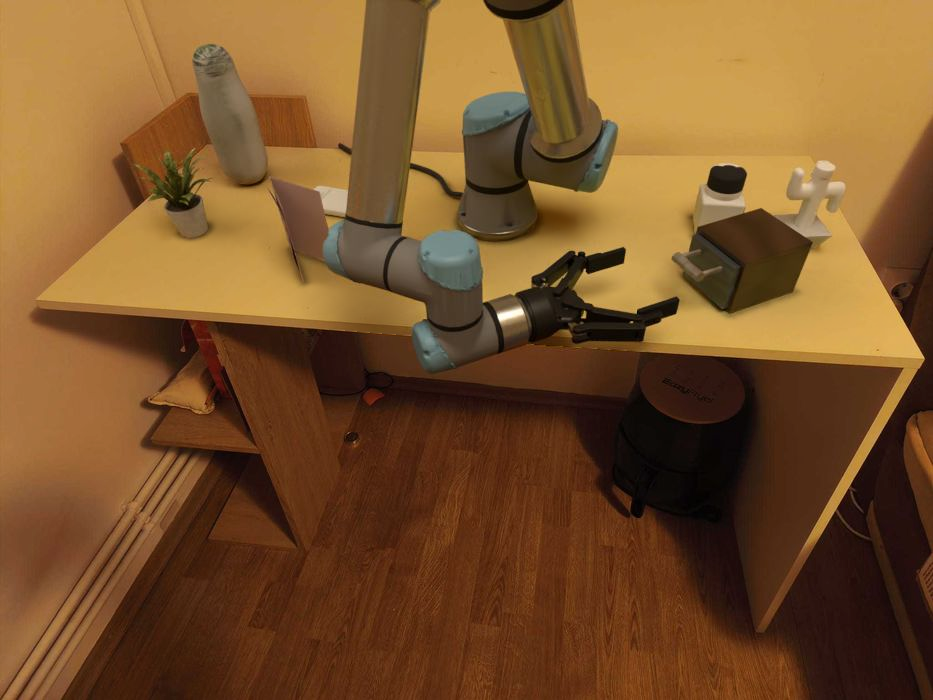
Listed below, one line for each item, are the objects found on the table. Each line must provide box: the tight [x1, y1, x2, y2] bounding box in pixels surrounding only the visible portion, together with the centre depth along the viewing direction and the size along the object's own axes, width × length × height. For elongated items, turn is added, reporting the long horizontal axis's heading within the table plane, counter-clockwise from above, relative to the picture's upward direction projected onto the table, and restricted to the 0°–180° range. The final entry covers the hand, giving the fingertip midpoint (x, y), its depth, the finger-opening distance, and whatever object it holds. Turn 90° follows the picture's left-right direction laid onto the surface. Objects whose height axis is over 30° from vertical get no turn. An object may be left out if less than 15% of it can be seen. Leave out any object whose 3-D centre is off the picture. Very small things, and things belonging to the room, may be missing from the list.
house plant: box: [130, 145, 214, 239], centre depth 115 cm, size 14×14×16 cm
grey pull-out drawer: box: [671, 234, 741, 310], centre depth 97 cm, size 16×10×8 cm, turn 112°
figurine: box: [773, 159, 847, 250], centre depth 104 cm, size 7×9×15 cm
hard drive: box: [312, 184, 348, 218], centre depth 125 cm, size 2×8×12 cm
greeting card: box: [267, 176, 330, 283], centre depth 107 cm, size 11×7×15 cm, turn 23°
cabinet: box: [696, 207, 813, 314], centre depth 98 cm, size 13×11×10 cm
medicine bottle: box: [692, 162, 748, 235], centre depth 109 cm, size 7×7×12 cm
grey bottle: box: [192, 43, 269, 185], centre depth 126 cm, size 10×10×28 cm
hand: (649, 278), depth 92 cm, fingers open, 13 cm apart
